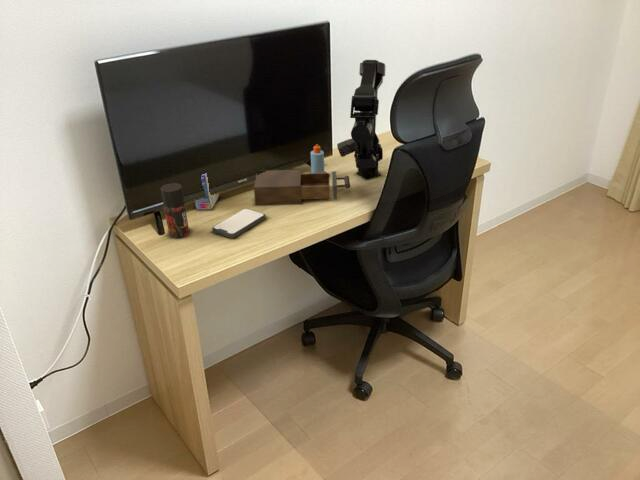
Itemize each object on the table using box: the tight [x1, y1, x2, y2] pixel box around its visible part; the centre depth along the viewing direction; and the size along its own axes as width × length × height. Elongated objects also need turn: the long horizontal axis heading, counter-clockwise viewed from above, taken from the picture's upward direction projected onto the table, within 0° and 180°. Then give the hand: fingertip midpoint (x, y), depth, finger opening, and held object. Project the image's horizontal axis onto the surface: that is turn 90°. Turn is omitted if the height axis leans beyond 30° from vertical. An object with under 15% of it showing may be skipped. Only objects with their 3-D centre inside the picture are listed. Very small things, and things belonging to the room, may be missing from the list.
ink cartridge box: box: [194, 173, 220, 211], centre depth 185 cm, size 10×6×14 cm, turn 174°
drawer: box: [301, 170, 351, 200], centre depth 191 cm, size 18×12×5 cm
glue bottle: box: [310, 143, 325, 173], centre depth 202 cm, size 5×5×12 cm
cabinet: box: [253, 169, 302, 206], centre depth 191 cm, size 15×13×6 cm
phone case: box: [211, 208, 266, 239], centre depth 175 cm, size 9×2×16 cm
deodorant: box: [160, 182, 190, 239], centre depth 168 cm, size 6×6×15 cm
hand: (363, 177), depth 189 cm, fingers closed
